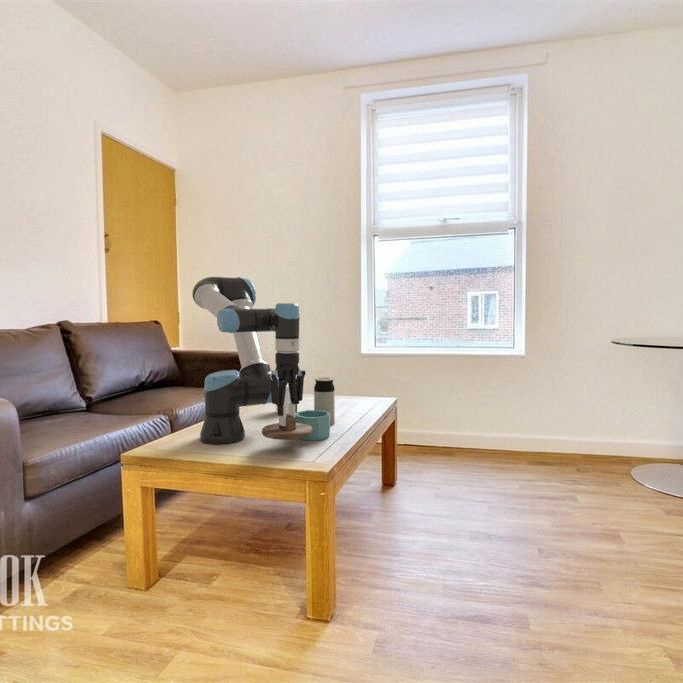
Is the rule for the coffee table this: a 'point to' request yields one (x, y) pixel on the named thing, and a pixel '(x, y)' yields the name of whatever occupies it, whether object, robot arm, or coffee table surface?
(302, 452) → the coffee table surface
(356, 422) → the coffee table surface
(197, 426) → the coffee table surface
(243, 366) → the robot arm
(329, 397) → the travel mug
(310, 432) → the lid
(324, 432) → the bowl
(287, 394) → the candle holder
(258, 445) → the coffee table surface
